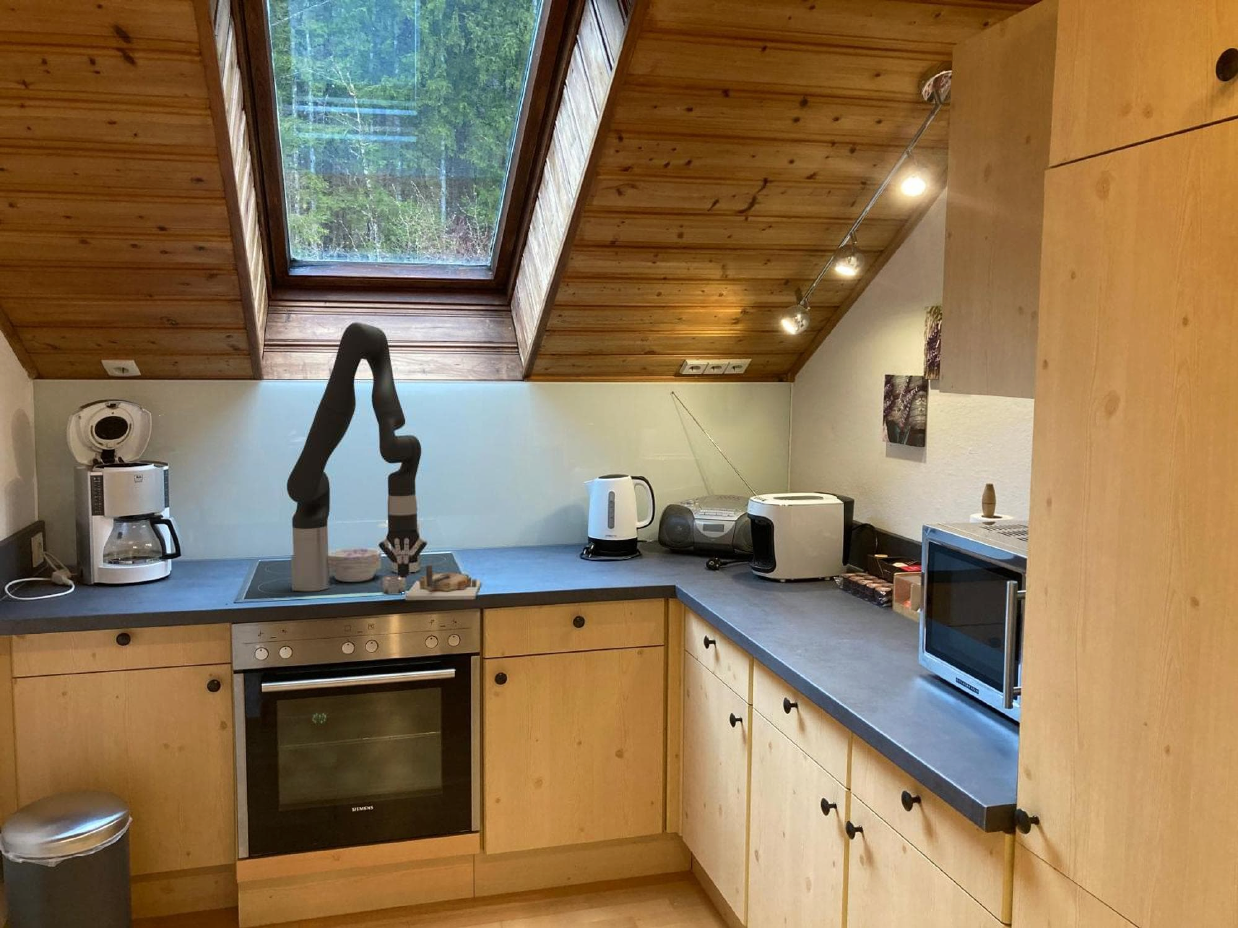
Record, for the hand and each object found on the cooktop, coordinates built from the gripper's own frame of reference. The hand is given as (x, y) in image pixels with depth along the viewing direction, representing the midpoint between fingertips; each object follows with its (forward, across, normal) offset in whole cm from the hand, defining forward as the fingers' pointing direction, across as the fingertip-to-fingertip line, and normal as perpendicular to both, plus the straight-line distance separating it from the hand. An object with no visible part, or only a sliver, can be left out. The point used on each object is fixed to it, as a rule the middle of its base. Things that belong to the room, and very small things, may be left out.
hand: (403, 576), depth 270 cm
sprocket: (+4, +10, +8) cm, 13 cm away
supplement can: (+6, -5, +35) cm, 36 cm away
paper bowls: (+6, -18, +25) cm, 31 cm away
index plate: (+5, +10, +7) cm, 13 cm away
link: (+6, -4, +7) cm, 10 cm away
